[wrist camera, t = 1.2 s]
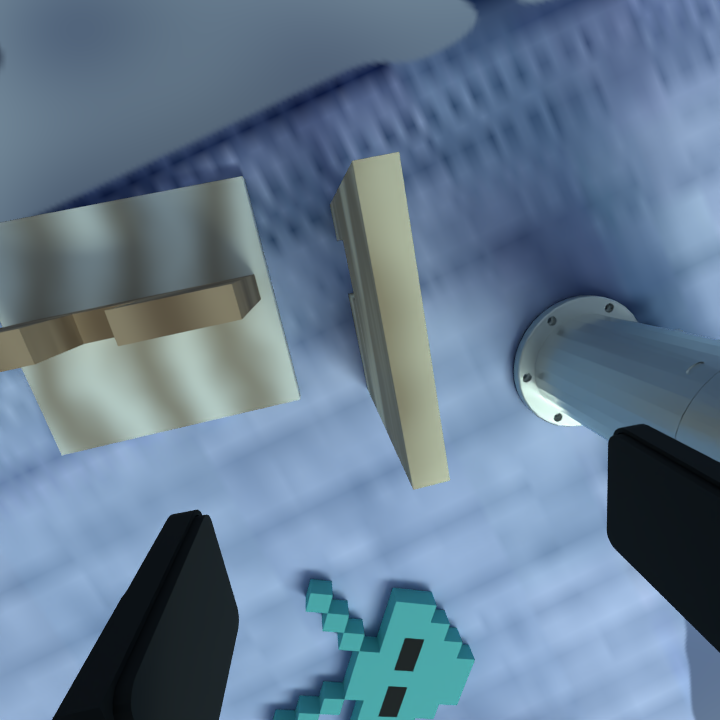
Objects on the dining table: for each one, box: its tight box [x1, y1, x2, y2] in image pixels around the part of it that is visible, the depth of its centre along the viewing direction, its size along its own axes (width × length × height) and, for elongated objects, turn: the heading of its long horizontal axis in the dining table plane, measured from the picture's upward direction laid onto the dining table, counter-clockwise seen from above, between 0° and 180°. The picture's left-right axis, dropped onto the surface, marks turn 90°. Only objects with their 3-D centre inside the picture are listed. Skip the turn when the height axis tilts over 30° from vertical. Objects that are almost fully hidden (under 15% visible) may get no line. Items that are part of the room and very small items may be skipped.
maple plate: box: [330, 152, 450, 490], centre depth 26 cm, size 2×16×16 cm, turn 11°
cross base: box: [0, 176, 300, 455], centre depth 27 cm, size 20×18×11 cm
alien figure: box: [273, 579, 475, 720], centre depth 44 cm, size 20×2×20 cm
